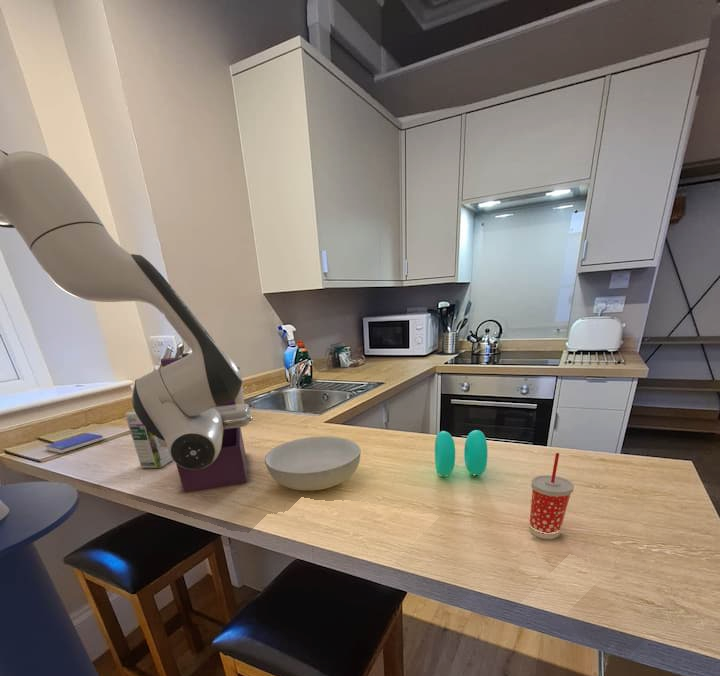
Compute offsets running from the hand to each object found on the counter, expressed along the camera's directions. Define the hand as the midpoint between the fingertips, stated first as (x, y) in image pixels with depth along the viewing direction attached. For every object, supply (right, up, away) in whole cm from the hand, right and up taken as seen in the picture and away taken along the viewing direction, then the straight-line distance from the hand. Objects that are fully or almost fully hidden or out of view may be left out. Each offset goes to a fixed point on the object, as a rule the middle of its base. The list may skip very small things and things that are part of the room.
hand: (205, 410), depth 93 cm
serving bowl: (+27, -17, -4) cm, 32 cm away
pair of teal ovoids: (+59, -15, -5) cm, 61 cm away
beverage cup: (+67, -25, -27) cm, 77 cm away
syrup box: (-17, -12, +10) cm, 23 cm away
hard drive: (-51, -6, +29) cm, 59 cm away
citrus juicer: (-11, +5, +47) cm, 48 cm away
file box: (+2, -15, +3) cm, 15 cm away
